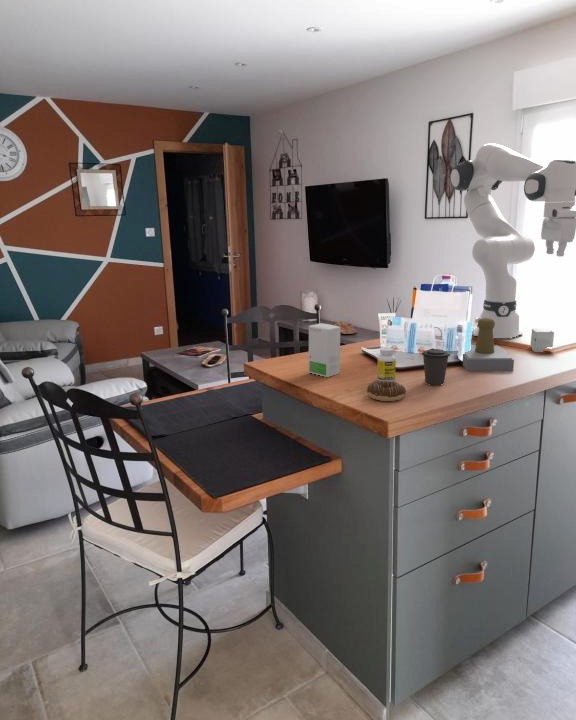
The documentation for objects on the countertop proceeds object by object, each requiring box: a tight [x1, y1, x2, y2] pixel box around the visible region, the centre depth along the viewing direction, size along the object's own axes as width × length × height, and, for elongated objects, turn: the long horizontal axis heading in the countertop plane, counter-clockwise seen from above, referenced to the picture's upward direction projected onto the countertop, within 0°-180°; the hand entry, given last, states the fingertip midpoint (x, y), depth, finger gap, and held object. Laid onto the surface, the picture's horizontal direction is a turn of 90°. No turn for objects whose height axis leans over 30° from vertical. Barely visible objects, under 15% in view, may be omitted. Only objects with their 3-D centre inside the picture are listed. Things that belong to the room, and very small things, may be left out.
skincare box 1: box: [307, 323, 341, 378], centre depth 177 cm, size 8×7×16 cm
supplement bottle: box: [376, 346, 397, 382], centre depth 169 cm, size 5×5×10 cm
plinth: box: [462, 345, 515, 372], centre depth 185 cm, size 18×14×4 cm
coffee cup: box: [421, 348, 451, 386], centre depth 165 cm, size 8×8×10 cm
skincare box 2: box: [530, 328, 555, 353], centre depth 199 cm, size 6×6×7 cm
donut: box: [366, 380, 407, 402], centre depth 155 cm, size 11×11×4 cm
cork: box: [475, 318, 495, 354], centre depth 183 cm, size 6×6×11 cm
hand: (554, 255), depth 183 cm, fingers open, 8 cm apart
